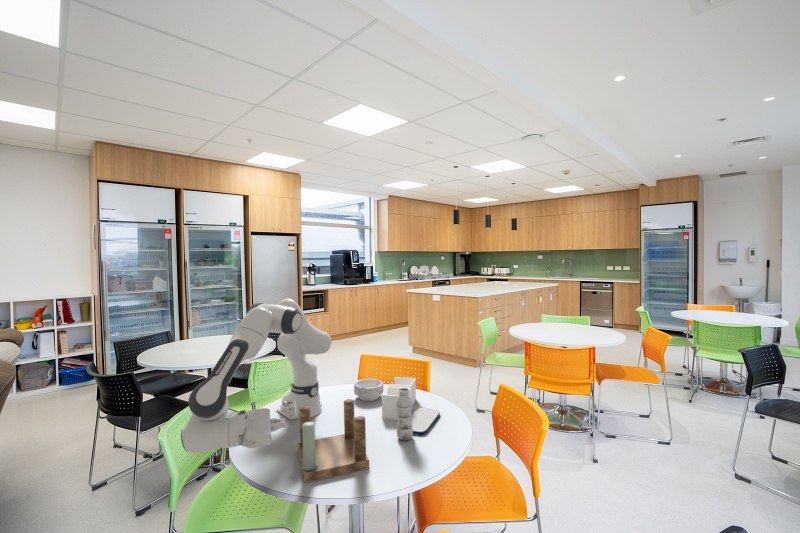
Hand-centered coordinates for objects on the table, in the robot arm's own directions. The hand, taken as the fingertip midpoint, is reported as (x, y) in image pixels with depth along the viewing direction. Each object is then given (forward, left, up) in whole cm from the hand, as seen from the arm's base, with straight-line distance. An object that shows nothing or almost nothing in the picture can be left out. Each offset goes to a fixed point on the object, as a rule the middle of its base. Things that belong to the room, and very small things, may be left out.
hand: (285, 422), depth 124 cm
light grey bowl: (-23, +71, -20) cm, 78 cm away
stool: (+3, +18, -20) cm, 27 cm away
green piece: (+1, +8, -16) cm, 18 cm away
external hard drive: (+15, +61, -21) cm, 66 cm away
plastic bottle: (+17, +45, -20) cm, 52 cm away
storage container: (-2, +69, -20) cm, 72 cm away
